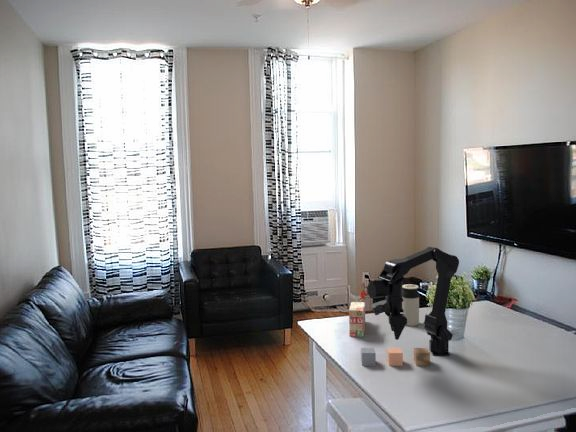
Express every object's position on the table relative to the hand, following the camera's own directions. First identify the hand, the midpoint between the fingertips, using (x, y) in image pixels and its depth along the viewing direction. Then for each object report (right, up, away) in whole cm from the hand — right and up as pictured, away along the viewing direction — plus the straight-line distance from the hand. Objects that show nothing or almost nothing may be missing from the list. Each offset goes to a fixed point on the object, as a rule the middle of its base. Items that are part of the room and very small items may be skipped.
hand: (394, 335), depth 180 cm
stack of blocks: (-8, -7, +40) cm, 41 cm away
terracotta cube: (0, -11, +1) cm, 11 cm away
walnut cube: (+10, -11, 0) cm, 15 cm away
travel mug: (+17, -6, +45) cm, 48 cm away
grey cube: (-10, -11, +2) cm, 15 cm away
